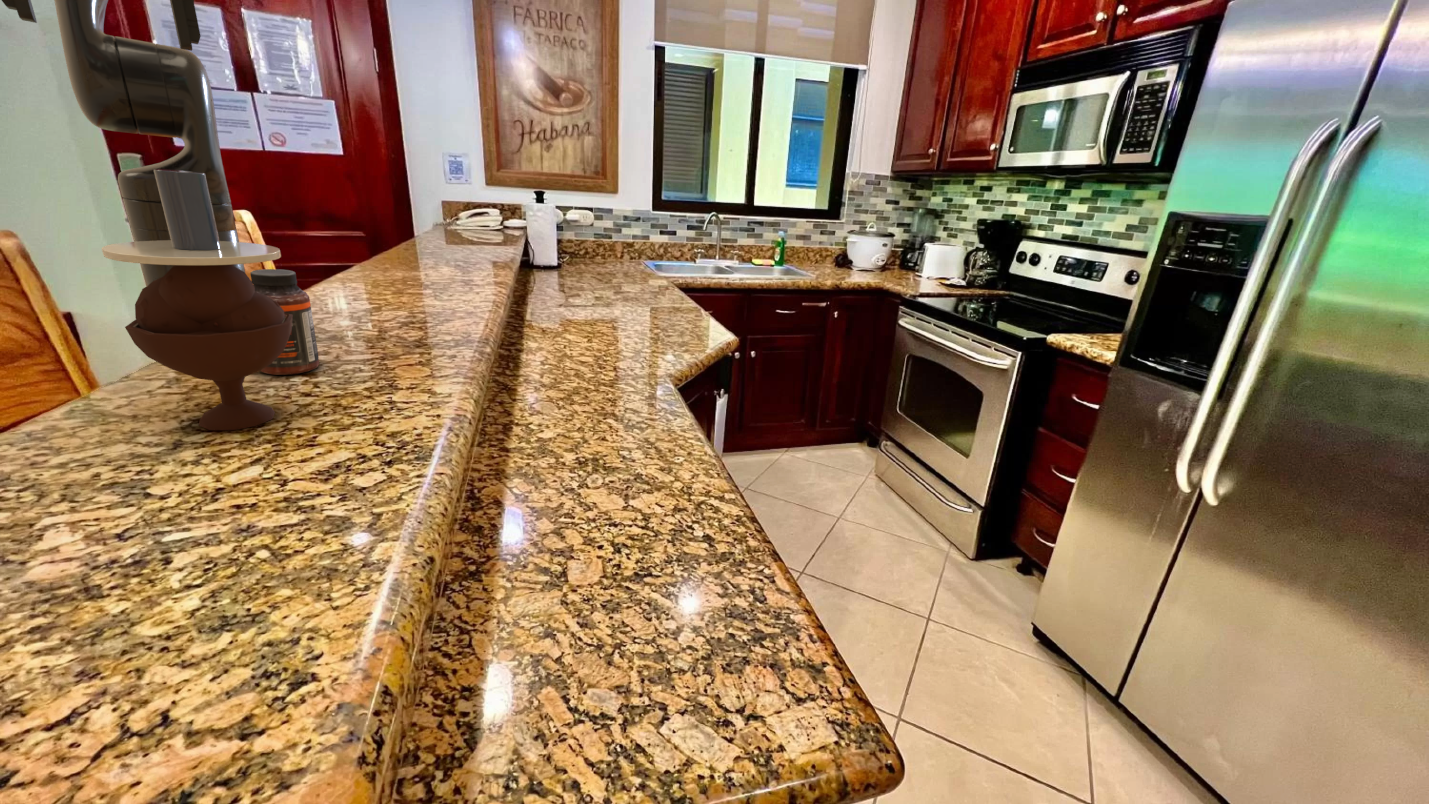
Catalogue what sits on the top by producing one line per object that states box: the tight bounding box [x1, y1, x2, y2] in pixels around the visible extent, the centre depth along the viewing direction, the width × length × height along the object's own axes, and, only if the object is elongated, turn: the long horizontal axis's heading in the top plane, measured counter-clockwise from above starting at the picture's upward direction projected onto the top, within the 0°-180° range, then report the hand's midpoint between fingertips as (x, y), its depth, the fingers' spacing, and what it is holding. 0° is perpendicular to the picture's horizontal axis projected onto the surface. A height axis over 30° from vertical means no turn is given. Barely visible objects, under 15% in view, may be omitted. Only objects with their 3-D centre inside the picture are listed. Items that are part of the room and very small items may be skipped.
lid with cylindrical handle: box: [101, 169, 282, 265], centre depth 45 cm, size 11×11×7 cm
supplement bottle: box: [250, 268, 320, 376], centre depth 63 cm, size 6×6×11 cm
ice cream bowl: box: [124, 265, 293, 431], centre depth 49 cm, size 11×11×15 cm
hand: (112, 35), depth 43 cm, fingers open, 8 cm apart
